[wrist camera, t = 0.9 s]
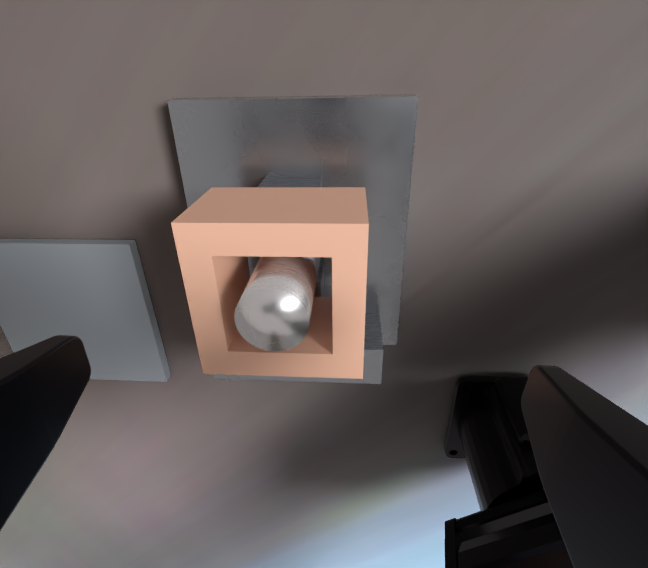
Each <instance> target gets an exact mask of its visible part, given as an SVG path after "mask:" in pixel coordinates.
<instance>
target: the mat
mask: <svg viewBox="0 0 648 568" xmlns="http://www.w3.org/2000/svg"><path fill="white" fill-rule="evenodd" d="M0 326H1V328H2V330H3V332H4V334H5V336H6V338H7V340H8V342H9V344H10V346H11V348H12V350H13V352H17V351H19V350H22V349H24V348H26V347H29V346H31V345H34V344H36V343H38V342H41V341H43V340H46V339H48V338H51V337H53V336H56V335H70V336H77V337H79V338H80V339H81V340H82V342H83V344H84V348H85V351H86V354H87V357H88V360H89V363H90V366H91V375H90V379H96V380H127V381H158V382H167V381H168V379H169V377H170V376H171V374H170V370H169V366H168V362H167V358H166V355H165V351H164V347H163V343H162V340H161V336H160V332H159V328H158V325H157V321H156V317H155V313H154V310H153V306H152V302H151V298H150V294H149V291H148V287H147V283H146V279H145V276H144V272H143V268H142V264H141V261H140V257H139V253H138V249H137V245H136V242H135V240H94V239H0Z"/></svg>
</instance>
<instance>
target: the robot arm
mask: <svg viewBox="0 0 648 568" xmlns="http://www.w3.org/2000/svg"><path fill="white" fill-rule="evenodd" d="M90 375H91V366H90V363H89V360H88V357H87V354H86V351H85V348H84V344H83V342H82V340H81V339H80V338H79V337H77V336H70V335H56V336H53V337H51V338H48V339H46V340H43V341H41V342H38V343H36V344H34V345H31V346H29V347H26V348H24V349H22V350H19V351H17V352H14V353H12V354H10V355H7V356H5V357H2V358H0V531H1V529H2V527H3V526H4V524H5V523H6V521H7V520H8V518H9V517H10V515H11V514H12V512H13V510H14V509H15V507H16V506H17V504H18V503H19V501H20V500H21V498H22V496H23V495H24V493H25V492H26V490H27V489H28V487H29V486H30V484H31V483H32V481H33V479H34V478H35V476H36V475H37V473H38V472H39V470H40V469H41V467H42V465H43V464H44V462H45V461H46V459H47V458H48V456H49V454H50V453H51V451H52V449H53V448H54V446H55V444H56V442H57V441H58V439H59V437H60V435H61V433H62V431H63V429H64V428H65V426H66V424H67V422H68V420H69V418H70V416H71V414H72V412H73V410H74V408H75V406H76V404H77V402H78V400H79V398H80V397H81V395H82V393H83V391H84V389H85V387H86V385H87V383H88V381H89V379H90ZM464 385H468V386H465V387H464ZM444 449H445V453H446V455H447V456H448V457H451V458H466V461H467V465H468V468H469V472H470V475H471V478H472V482H473V485H474V489H475V492H476V496H477V499H478V503H479V506H480V510H481V511H480V512H477V513H474V514H471V515H468V516H465V517H462V518H460V519H456V518H453V519H451V520H448V521H445V568H648V425H646V424H645V423H643V422H642V421H640V420H639V419H637V418H635V417H634V416H632V415H631V414H629V413H628V412H626V411H625V410H623V409H622V408H620V407H619V406H617V405H616V404H614V403H613V402H611V401H610V400H608V399H607V398H605V397H603V396H602V395H600V394H599V393H597V392H596V391H594V390H593V389H591V388H590V387H588V386H587V385H585V384H584V383H582V382H581V381H579V380H578V379H576V378H575V377H573V376H572V375H570V374H568V373H567V372H565V371H564V370H562V369H561V368H559V367H556V366H545V365H536V366H534V367H533V368H532V369H531V372H530V374H529V377H528V379H526V378H492V377H462V378H460V379H459V380H457V382H456V387H455V392H454V398H453V403H452V408H451V414H450V419H449V424H448V430H447V435H446V440H445V446H444Z"/></svg>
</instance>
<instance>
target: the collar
mask: <svg viewBox="0 0 648 568" xmlns="http://www.w3.org/2000/svg"><path fill="white" fill-rule="evenodd" d="M171 226H172V230H173V235H174V240H175V244H176V249H177V254H178V258H179V263H180V268H181V272H182V277H183V282H184V286H185V291H186V296H187V300H188V305H189V310H190V314H191V319H192V324H193V328H194V333H195V338H196V342H197V347H198V352H199V356H200V361H201V366H202V370H203V374H223V375H255V376H288V377H320V378H353V379H363V363H364V337H365V311H366V285H367V258H368V232H369V221H368V210H367V200H366V190H365V187H212V188H211V189H209V190H208V191H207V192H206V193H205V194H204V195H202V196H201V197H200V198H199V199H198V200H197V201H196V202H194V203H193V204H192V205H191V206H190V207H189V208H187V209H186V210H185V211H184V212H183V213H182V214H180V215H179V216H178V217H177V218H176V219H175V220H174V221H172V222H171ZM248 256H256V257H332V297H314V300H313V305H312V311H311V317H310V323H309V329H308V332H307V335H306V336H305V338H304V339H303V341H302V342H300V343H299V344H298V345H297V346H295V347H293V348H291V349H288V350H285V351H267V350H263V349H260V348H257V347H255V346H253V345H252V344H250V343H249V342H247V341H246V340H245V339H244V338H243V337H242V336H241V334H240V333H239V331H238V330H237V327H236V325H235V320H234V314H235V309H236V306H237V304H238V302H239V300H240V298H241V296H242V294H243V292H244V290H245V288H246V286H247V284H248V281H249V279H250V271H249V263H248Z"/></svg>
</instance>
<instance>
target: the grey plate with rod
mask: <svg viewBox="0 0 648 568" xmlns="http://www.w3.org/2000/svg"><path fill="white" fill-rule="evenodd" d="M167 102H168V107H169V112H170V118H171V123H172V128H173V134H174V139H175V144H176V149H177V155H178V160H179V165H180V171H181V176H182V181H183V186H184V192H185V197H186V202H187V208H189V207H190V206H191V205H192V204H193V203H194V202H196V201H197V200H198V199H199V198H200V197H201V196H202V195H204V194H205V193H206V192H207V191H208V190H209V189H211V188H212V187H365V190H366V200H367V210H368V221H369V232H368V258H367V285H366V311H365V337H364V363H363V379H353V378H320V377H288V376H255V375H223V374H213V378H214V379H236V380H268V381H300V382H332V383H363V384H381V378H382V364H383V345H397V334H398V323H399V311H400V300H401V289H402V277H403V266H404V254H405V243H406V231H407V220H408V208H409V197H410V185H411V174H412V162H413V151H414V139H415V128H416V117H417V105H418V96H416V95H371V96H306V97H241V98H177V99H172V100H167ZM248 263H249V271H250V279H249V281H248V284H247V286H246V288H245V290H244V292H243V294H242V296H241V298H240V300H239V302H238V304H237V306H236V309H235V314H234V320H235V325H236V327H237V330H238V331H239V333H240V334H241V336H242V337H243V338H244V339H245V340H246V341H247V342H249V343H250V344H252V345H253V346H255V347H257V348H260V349H263V350H267V351H285V350H288V349H291V348H293V347H295V346H297V345H298V344H299V343H300V342H302V341H303V339H304V338H305V336H306V335H307V332H308V329H309V323H310V317H311V311H312V305H313V300H314V297H332V257H256V256H248Z"/></svg>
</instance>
